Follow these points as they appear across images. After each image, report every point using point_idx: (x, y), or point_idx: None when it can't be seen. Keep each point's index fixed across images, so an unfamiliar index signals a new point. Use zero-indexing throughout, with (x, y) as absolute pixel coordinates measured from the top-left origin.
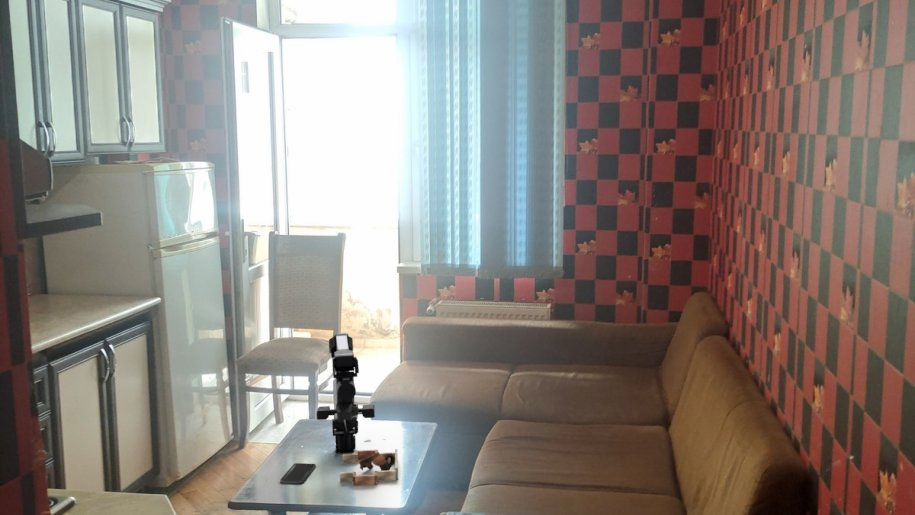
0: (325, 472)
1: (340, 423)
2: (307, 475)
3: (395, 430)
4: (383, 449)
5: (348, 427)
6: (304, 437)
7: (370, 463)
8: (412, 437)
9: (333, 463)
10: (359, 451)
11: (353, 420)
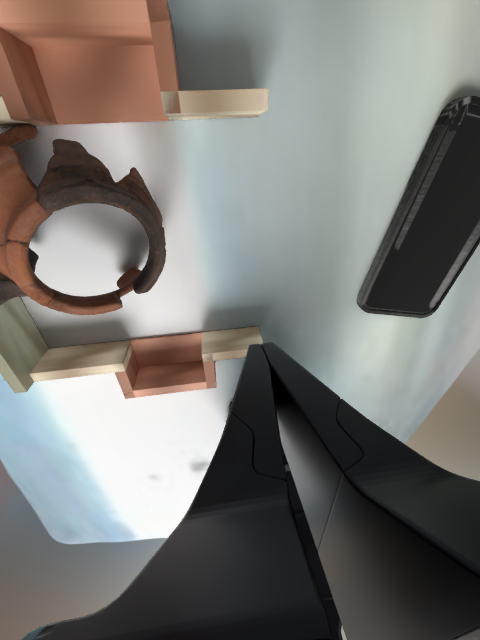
0: (326, 246)
1: (429, 474)
2: (414, 190)
3: (138, 511)
4: (135, 427)
5: (260, 424)
6: None
7: (52, 157)
8: (72, 491)
9: (292, 329)
10: (199, 382)
11: (115, 628)
